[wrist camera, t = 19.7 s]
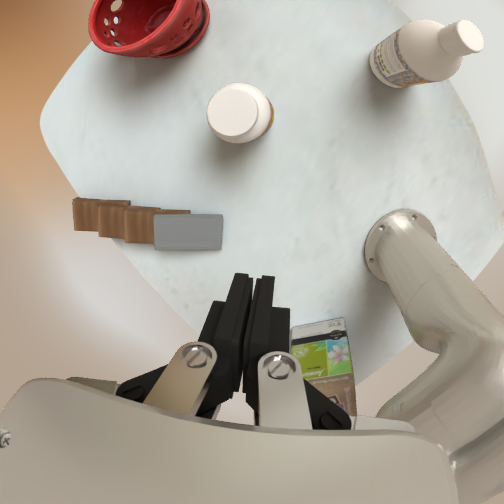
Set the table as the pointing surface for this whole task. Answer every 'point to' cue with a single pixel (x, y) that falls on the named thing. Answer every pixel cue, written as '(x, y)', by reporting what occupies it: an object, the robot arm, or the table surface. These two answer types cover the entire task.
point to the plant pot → (149, 26)
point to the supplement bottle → (239, 113)
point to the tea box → (326, 360)
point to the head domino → (188, 231)
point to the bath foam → (424, 52)
